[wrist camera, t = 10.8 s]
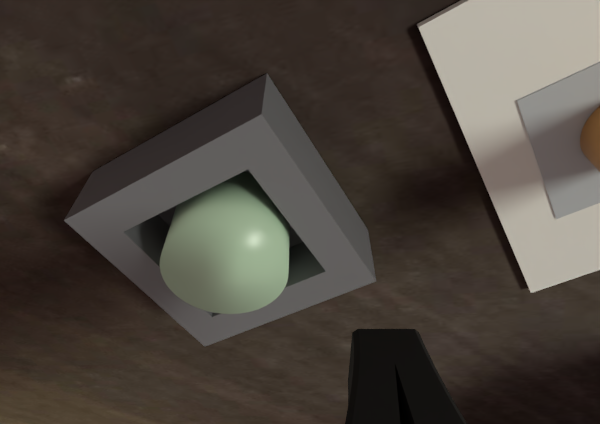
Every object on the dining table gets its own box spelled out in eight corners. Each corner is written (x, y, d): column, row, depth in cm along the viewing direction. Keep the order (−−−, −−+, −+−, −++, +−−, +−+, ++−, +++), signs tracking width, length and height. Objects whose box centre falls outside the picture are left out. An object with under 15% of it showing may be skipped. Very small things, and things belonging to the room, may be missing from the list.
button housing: (367, 229, 21) (376, 280, 19) (214, 294, 24) (204, 346, 21) (267, 73, 17) (261, 114, 15) (92, 171, 19) (63, 220, 17)
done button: (310, 232, 20) (311, 288, 18) (220, 272, 21) (210, 328, 19) (249, 150, 18) (241, 201, 15) (153, 200, 19) (132, 254, 17)
